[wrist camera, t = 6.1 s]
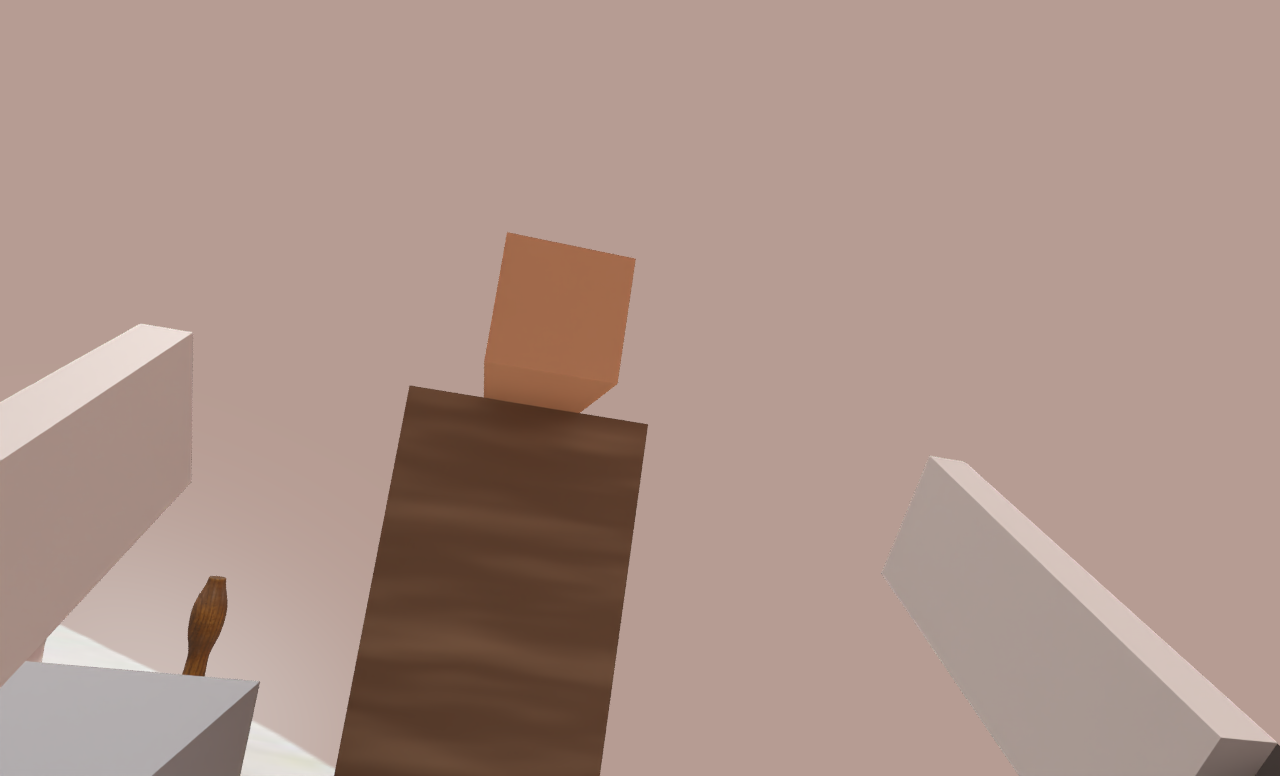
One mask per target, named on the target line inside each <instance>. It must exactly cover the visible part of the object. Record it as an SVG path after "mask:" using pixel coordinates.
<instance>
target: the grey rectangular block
mask: <svg viewBox="0 0 1280 776" xmlns="http://www.w3.org/2000/svg"><path fill="white" fill-rule="evenodd" d="M259 684H260V681H249V680H238V679H225V678H215V677H203V676H191V675H180V674H168V673H157V672H145V671H133V670H122V669H110V668H98V667H87V666H75V665H64V664H52V663H40V662H29V661H25V662H24V663H23V664H22V665H21V666H20V667H19V668H18V670H17V671H16V672H15V673H14V674H13V675H12V676H11V677H10V678H9V679H8V680H7V681H6V682H5V684H4V685H3V686H2V687H1V688H0V776H240V773H241V768H242V764H243V759H244V754H245V750H246V745H247V740H248V736H249V731H250V726H251V721H252V717H253V712H254V707H255V703H256V698H257V693H258V689H259Z"/></svg>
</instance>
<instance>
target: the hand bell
mask: <svg viewBox="0 0 1280 776" xmlns="http://www.w3.org/2000/svg"><path fill="white" fill-rule="evenodd" d="M226 612H227V592H226V578H225V577H220V576H210V577H209V579H208V581H207V583H206V585H205V587H204V588H203V590H202V591H201V593H200V594H199V596H198V598H197V600H196V602H195V603H194V606H193V609H192V612H191V616H190V621H189V626H188V647H189V648H188V649H189V650H188V657H187V660H186V664H185V667H184V671H183V674H182V675H191V676H203V677H204V676H205V671H206V666H207V661H208V657H209V654H210V652H211V649H212V647H213V646H214V644H215V642H216V640H217V639H218V637H219V635H220V632H221V629H222V627H223V624H224V621H225V616H226Z"/></svg>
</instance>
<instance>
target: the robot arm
mask: <svg viewBox="0 0 1280 776" xmlns="http://www.w3.org/2000/svg"><path fill="white" fill-rule="evenodd" d="M192 363H193V332H187V331H182V330H176V329H170V328H164V327H158V326H151V325H146V324H139V325H137V326H135V327H134V328H132V329H130V330H128V331H126V332H124V333H123V334H121V335H119V336H117V337H116V338H114V339H112V340H110V341H108V342H107V343H105V344H103V345H101V346H100V347H98V348H96V349H94V350H92V351H91V352H89V353H87V354H85V355H83V356H82V357H80V358H78V359H76V360H75V361H73V362H71V363H69V364H67V365H66V366H64V367H62V368H60V369H59V370H57V371H55V372H53V373H51V374H50V375H48V376H46V377H44V378H42V379H41V380H39V381H37V382H35V383H34V384H32V385H30V386H28V387H26V388H25V389H23V390H21V391H19V392H18V393H16V394H14V395H12V396H10V397H9V398H7V399H5V400H4V401H2V402H0V688H1V687H2V686H3V685H4V684H5V682H6V681H7V680H8V679H9V678H10V677H11V676H12V675H13V674H14V673H15V672H16V671H17V670H18V668H19V667H20V666H21V665H22V664H23V663H24V662H25V661H26V660H27V659H28V658H29V657H30V656H31V654H32V653H33V652H34V651H35V650H36V649H37V648H38V647H39V646H40V645H41V644H42V643H43V642H44V640H45V639H46V638H47V637H48V636H49V635H50V634H51V633H52V632H53V631H54V630H55V629H56V628H57V626H58V625H59V624H60V623H61V622H62V621H63V620H64V619H65V618H66V616H68V615H69V613H70V612H71V611H72V610H73V609H74V608H75V607H76V606H77V605H78V604H79V603H80V602H81V600H82V599H83V598H84V597H85V596H86V595H87V594H88V593H89V592H90V591H91V590H92V589H93V588H94V586H95V585H96V584H97V583H98V582H99V581H100V580H101V579H102V578H103V577H104V576H105V575H106V574H107V573H108V571H109V570H110V569H111V568H112V567H113V566H114V565H115V564H116V563H117V562H118V561H119V560H120V559H121V557H122V556H123V555H124V554H125V553H126V552H127V551H128V550H129V549H130V548H131V547H132V546H133V544H134V543H135V542H136V541H137V540H138V539H139V538H140V537H141V536H142V535H143V534H144V533H145V532H146V530H147V529H148V528H149V527H150V526H151V525H152V524H153V523H154V522H155V521H156V520H157V519H158V518H159V516H160V515H161V514H162V513H163V512H164V511H165V510H166V509H167V508H168V507H169V506H170V505H171V504H172V502H173V501H174V500H175V499H176V498H177V497H178V496H179V495H180V494H181V493H182V492H183V491H184V490H185V488H186V487H187V486H188V485H189V484H190V483H191V463H192V461H191V460H192V454H191V453H192V371H193V370H192V368H193V364H192ZM881 574H882V575H883V577H884V578H885V580H886V581H887V583H888V584H889V586H890V587H891V588H892V590H893V592H894V593H895V594H896V596H897V597H898V599H899V600H900V602H901V603H902V605H903V606H904V608H905V609H906V611H907V612H908V614H909V615H910V616H911V618H912V619H913V621H914V622H915V624H916V625H917V627H918V628H919V630H920V631H921V633H922V634H923V635H924V637H925V639H926V640H927V641H928V642H929V644H930V646H931V647H932V649H933V650H934V652H935V653H936V655H937V656H938V658H939V659H940V660H941V662H942V663H943V665H944V666H945V668H946V669H947V671H948V672H949V674H950V675H951V677H952V678H953V679H954V681H955V682H956V684H957V685H958V687H959V688H960V690H961V691H962V693H963V694H964V696H965V697H966V699H967V700H968V702H969V703H970V705H971V706H972V707H973V709H974V710H975V712H976V713H977V715H978V716H979V718H980V719H981V721H982V722H983V724H984V725H985V726H986V728H987V729H988V731H989V733H990V734H991V735H992V737H993V738H994V740H995V741H996V743H997V744H998V746H999V747H1000V749H1001V750H1002V752H1003V753H1004V754H1005V756H1006V757H1007V759H1008V760H1009V762H1010V763H1011V765H1012V766H1013V768H1014V769H1015V771H1016V772H1017V774H1018V775H1019V776H1280V746H1279V745H1278V744H1277V742H1276V741H1275V740H1274V739H1273V738H1272V737H1271V736H1269V735H1268V734H1267V733H1266V732H1265V731H1264V730H1263V729H1262V728H1260V727H1259V726H1258V725H1257V724H1256V723H1255V722H1254V721H1253V720H1252V719H1250V718H1249V717H1248V716H1247V715H1246V714H1245V713H1244V712H1243V711H1242V710H1241V709H1239V708H1238V707H1237V706H1236V705H1235V704H1234V703H1233V702H1232V701H1231V700H1229V699H1228V698H1227V697H1226V696H1225V695H1224V694H1223V693H1222V692H1220V691H1219V690H1218V689H1217V688H1216V687H1215V686H1214V685H1213V684H1212V683H1210V682H1209V681H1208V680H1207V679H1206V678H1205V677H1204V676H1203V675H1201V674H1200V673H1199V672H1198V671H1197V670H1196V669H1195V668H1194V667H1193V666H1192V665H1190V664H1189V663H1188V662H1187V661H1186V660H1185V659H1184V658H1182V656H1180V655H1179V654H1178V653H1177V652H1176V651H1175V650H1174V649H1172V648H1171V647H1170V646H1169V645H1168V644H1167V643H1166V642H1165V641H1164V640H1163V639H1162V638H1160V637H1159V636H1158V635H1157V634H1156V633H1155V632H1154V631H1153V630H1151V629H1150V628H1149V627H1148V626H1147V625H1146V624H1145V623H1144V622H1143V621H1142V620H1140V619H1139V618H1138V617H1137V616H1136V615H1135V614H1134V613H1133V612H1131V611H1130V610H1129V609H1128V608H1127V607H1126V606H1125V605H1124V604H1123V603H1121V602H1120V601H1119V600H1118V599H1117V598H1116V597H1115V596H1114V595H1113V594H1111V593H1110V592H1109V591H1108V590H1107V589H1106V588H1105V587H1104V586H1102V585H1101V584H1100V583H1099V582H1098V581H1097V580H1096V579H1095V578H1094V577H1093V576H1091V575H1090V574H1089V573H1088V572H1087V571H1086V570H1085V569H1084V568H1083V567H1081V566H1080V565H1079V564H1078V563H1077V562H1076V561H1075V560H1074V559H1073V558H1071V557H1070V556H1069V555H1068V554H1067V553H1066V552H1065V551H1064V550H1063V549H1061V548H1060V547H1059V546H1058V545H1057V544H1056V543H1055V542H1054V541H1052V540H1051V539H1050V538H1049V537H1048V536H1047V535H1046V534H1044V532H1042V531H1041V530H1040V529H1039V528H1038V527H1037V526H1036V525H1035V524H1034V523H1032V522H1031V521H1030V520H1029V519H1028V518H1027V517H1026V516H1025V515H1024V514H1022V513H1021V512H1020V511H1019V510H1018V509H1017V508H1016V507H1015V506H1014V505H1012V504H1011V503H1010V502H1009V501H1008V500H1007V499H1006V498H1005V497H1004V496H1002V495H1001V494H1000V493H999V492H998V491H997V490H995V488H994V487H992V486H991V485H990V484H989V483H988V482H987V481H986V480H985V479H983V478H982V477H981V476H980V475H979V474H978V473H977V472H976V471H974V470H973V469H972V468H971V467H970V466H969V465H968V464H967V463H966V462H964V461H957V460H952V459H945V458H939V457H934V456H929V459H928V461H927V463H926V466H925V468H924V471H923V473H922V475H921V478H920V480H919V483H918V485H917V488H916V490H915V493H914V495H913V497H912V500H911V502H910V505H909V507H908V510H907V512H906V514H905V517H904V519H903V522H902V524H901V527H900V529H899V532H898V534H897V536H896V539H895V541H894V544H893V546H892V549H891V551H890V554H889V556H888V558H887V561H886V564H885V566H884V568H883V571H882V573H881Z"/></svg>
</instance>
